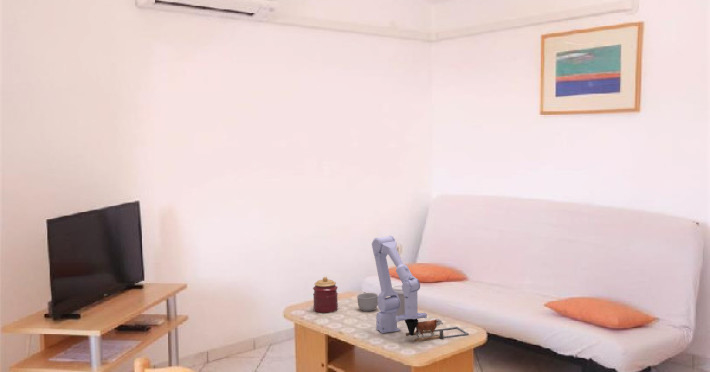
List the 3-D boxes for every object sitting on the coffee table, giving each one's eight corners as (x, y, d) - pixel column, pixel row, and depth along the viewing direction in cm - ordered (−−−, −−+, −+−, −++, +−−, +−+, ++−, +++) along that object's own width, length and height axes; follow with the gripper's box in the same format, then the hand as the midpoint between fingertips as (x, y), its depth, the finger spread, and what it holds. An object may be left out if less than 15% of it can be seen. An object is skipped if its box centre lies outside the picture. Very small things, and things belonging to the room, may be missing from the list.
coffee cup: (407, 320, 305) (407, 290, 304) (389, 318, 308) (388, 289, 307) (412, 314, 314) (411, 285, 313) (394, 313, 317) (393, 284, 316)
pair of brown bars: (415, 342, 272) (415, 333, 272) (404, 334, 284) (404, 325, 283) (443, 338, 277) (443, 330, 276) (431, 330, 288) (431, 322, 288)
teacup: (378, 312, 318) (377, 297, 318) (357, 312, 319) (356, 297, 318) (377, 305, 332) (377, 290, 332) (357, 305, 332) (357, 290, 332)
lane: (443, 338, 277) (443, 337, 277) (432, 331, 288) (432, 329, 287) (468, 334, 281) (468, 333, 281) (457, 327, 292) (457, 326, 292)
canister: (333, 314, 317) (332, 280, 316) (309, 312, 321) (309, 279, 319) (341, 307, 330) (340, 274, 328) (318, 305, 333) (317, 273, 332)
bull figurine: (444, 335, 281) (444, 318, 280) (416, 339, 277) (416, 321, 276) (440, 332, 285) (440, 315, 284) (413, 336, 281) (413, 318, 280)
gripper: (399, 309, 271) (399, 339, 272) (429, 306, 275) (429, 335, 276) (393, 305, 277) (393, 334, 279) (423, 302, 282) (423, 331, 283)
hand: (411, 335), depth 278 cm, fingers closed
